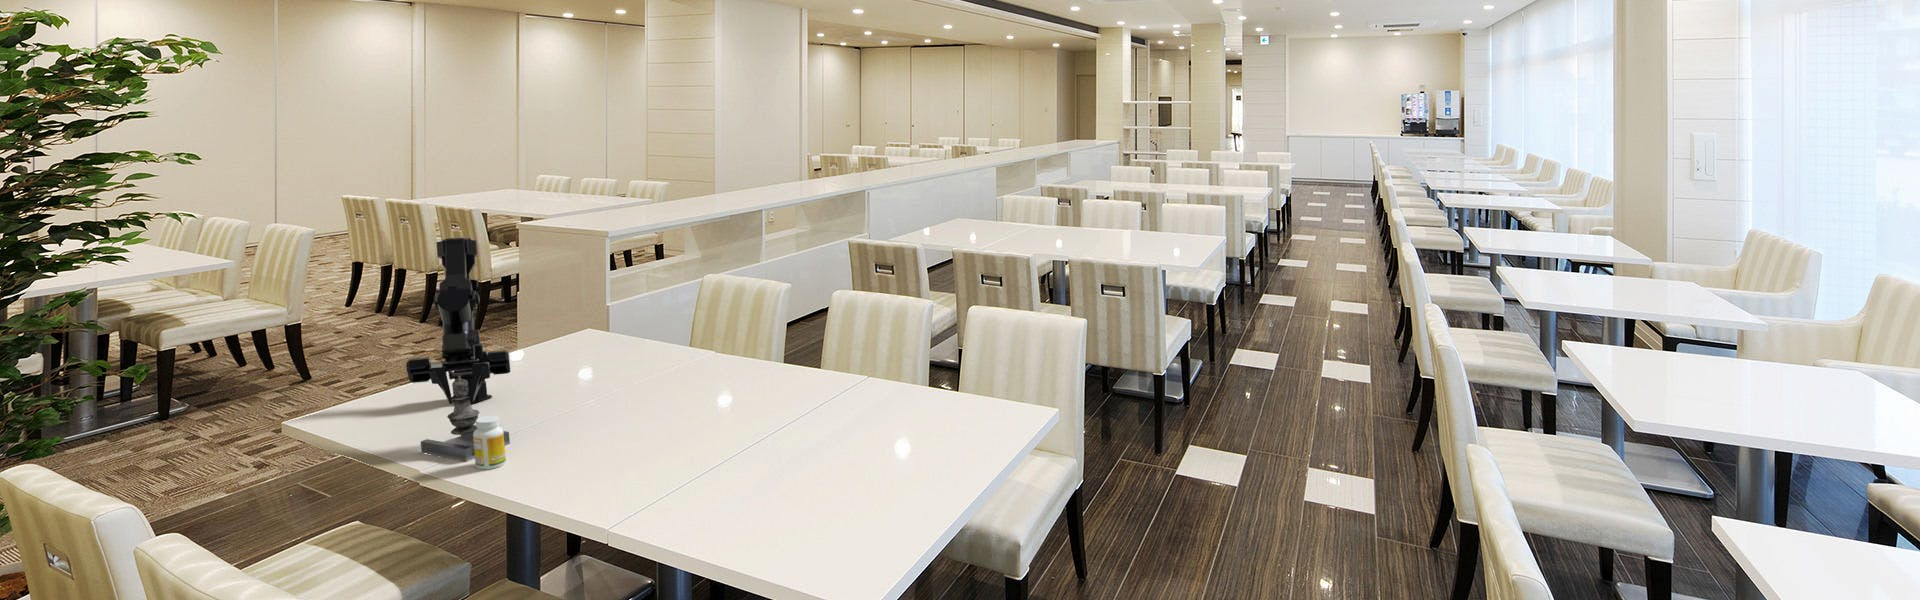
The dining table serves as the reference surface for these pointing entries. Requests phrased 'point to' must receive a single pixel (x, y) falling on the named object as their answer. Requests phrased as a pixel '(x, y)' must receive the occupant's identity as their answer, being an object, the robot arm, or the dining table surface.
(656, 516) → the dining table surface
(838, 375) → the dining table surface
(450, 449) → the floor track
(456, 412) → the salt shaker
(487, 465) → the supplement bottle
